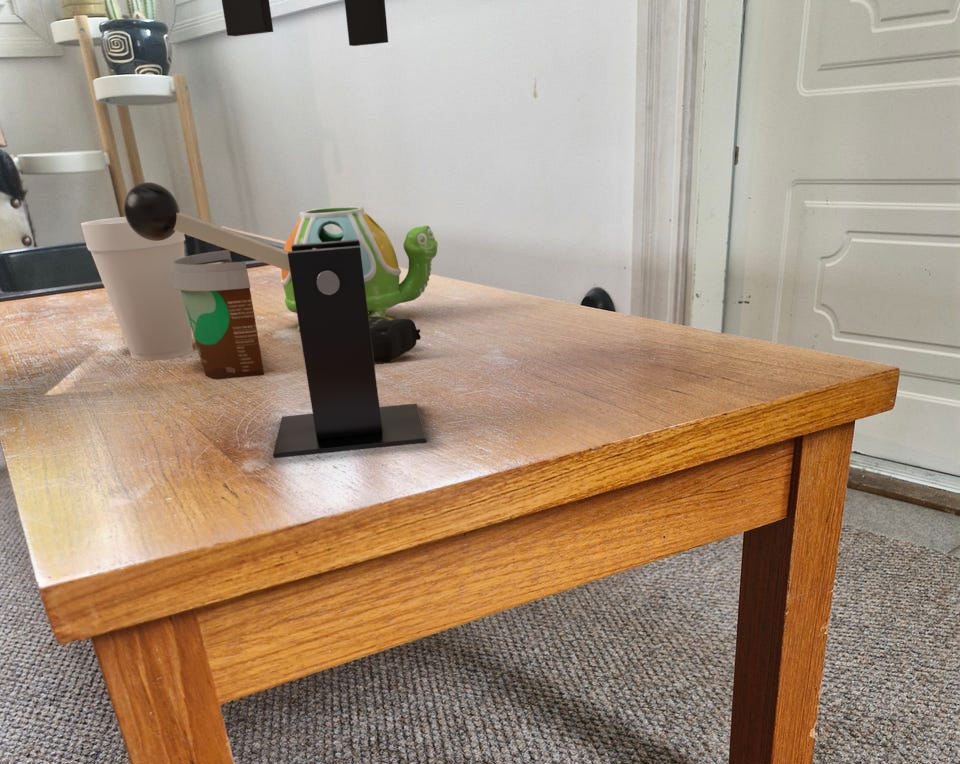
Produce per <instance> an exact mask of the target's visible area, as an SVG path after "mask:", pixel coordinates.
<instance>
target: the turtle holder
mask: <svg viewBox="0 0 960 764" xmlns="http://www.w3.org/2000/svg"><path fill="white" fill-rule="evenodd" d="M327 225H328V226H329V225H333V226H337V227H338V228H339V229H340V230H341V231H342V232H339V233H330V232H328V230H326V229H325V227H326V226H327ZM357 239H358V240H359V241H360V249H361V257H362V266H363V274H364V282H365V291H366V299H367V307H368V316H369V317H372V316H383V317H386V310H387V309H389V308H392V307H395V306H398V305H400V304H402V303H407V302H408V303H409V302H412V301H415V300H416V299H418V298H419V297H420V296H421V295H422V293H424V292H425V290H426V288H427V286H428V284H429V283H428V282H429V281H430V276H431V273H432V272H431V271H432V262H433V261H432V260H434V258H435V257H436V256H437V253H438V241H437V240H436V239H435V236H434V232H433V230H432V229H431V227H430V226H429V225H423V226H416V227H413V228H411V229H410V230H409V231H408V232H407V233H406V236H405V239H404V242H403V250H404V252H405V254H406V256H407V259H408V269H407V273H406V276H405V277H404V279H403V280H402V281H401V282H400V276H401V274H402V270H401V268H400V266H399V261H398V258H397V255H396V254H397V253H396V251H395V248H394V247H393V244H392V242H391V240H390V238H389V237H388V234H387V233H386V231H385V230H384V229H383V228H382V227H381V226H380V225H379V224H378V222H376V221H375V220H374V219H373V218H372V217H371V216H370V215H369V214H367V213H366V212H365V209H364V206H359V205H353V206H352V205H349V206H332V207H331V206H330V207H320V208H312V209H307V210H303V211H301V212H300V213H299V220H298V221H297V222H296V225H295V227H294V229H293V230H292V231H291V234H290V235H289V237H288V239H287V240H286V242H285V243H284V247H283V250H285V251H288V252H289V251H292V248H291V247H292V245H296V244H308V243H320V242H332V241H344V240H357ZM280 284H281V285H282V286H283V290H284V294H285V298H284V303H285V306H286V308H287V309H288V311H290V312H291V313H294V314H297V310H296V304H295V298H294V291H293V285H292V279H291V272H289V271H286V270H283V269H281V279H280ZM297 332H299V333H300V329H299V325H298V326H297Z"/></svg>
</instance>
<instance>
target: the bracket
mask: <svg viewBox="0 0 960 764" xmlns="http://www.w3.org/2000/svg"><path fill="white" fill-rule="evenodd" d="M291 248H292V251H289V252H288V260H289V266H290V272H291V279H292V285H293V291H294V298H295V304H296V310H297V313H296V316H297V323H298V326H299V329H300V332H299V335H300V342H301V347H302V354H303V355H302V356H303V360H304V367H305V373H306V380H307V385H308V386H307V387H308V392H309V398H310V405H311V411H312V413H305V414H304V413H303V414H294V415H284V416H281V419H280V424H279V427H278V432H277V437H276V441H275V445H274V449H273V452H272V458H273V459H280V458H288V457H289V458H290V457H299V456H308V455H309V456H311V455H318V454H328V453H338V452H348V451H349V452H350V451H360V450H368V449H379V448H388V447H389V448H390V447H397V446H407V445H418V444H426V443H427V436H426V433H425V429H424V425H423V423H422V422H423V421H422V418H421V413H420V409H419V406H418V404H417V403H408V404H395V405H387V406H380V399H379V391H378V383H377V373H376V366H375V363H374V357H373V349H372V341H371V332H370V324H369V316H368V314H369V312H368V307H367V299H366V291H365V282H364V274H363V266H362V257H361V249H360V241H359V240H358V239H357V240H344V241H332V242H320V243H308V244H296V245H292V247H291ZM313 248H316V249H313Z"/></svg>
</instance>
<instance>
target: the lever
mask: <svg viewBox="0 0 960 764" xmlns="http://www.w3.org/2000/svg"><path fill="white" fill-rule="evenodd" d="M125 196H126V197H125V199H124V205H123V207H124V208H123V210H124V217H126V219H127V222H128V223H129V225H130V227H131V228H132V229H133V230H134V231H135V232H136V233H137V234H138V235H140V236H141V237H143V238H145V239H148V240H152V241H160V240H164V239H167V238H169V237H170V236H171V235H173V234H174V232H175V231H178V232H181V233H183V234H184V235H186V236H189V237H192V238H194V239H198V240H201V241H203V242H206V243H208V244H211V245H214V246H217V247H220V248H222V249H225V250H229V251H230V252H234V253H236V254H239V255H242V256H245V257H247V258H250V259H253V260H255V261H258V262H261V263H264V264H267V265H270V266H272V267H275V268H278V269H281V270H282V269H283V270H286V271H289V272H290V266H289V260H288V251H285V250H284V249H282V248H279V247H276V246H274V245H271V244H269V243H266V242H263V241H260V240H258V239H256V238H255V239H254V238H252V237H250V236H247V235H244V234H241V233H239V232H236V231H234V230H230V229H227V228H225V227H222V226H220V225H217V224H214V223H211V222H210V221H209V222H208V221H206V220H204V219H200V218H198V217H195V216H192V215H189V214H187V213H184V212H182V211H180V206H179V204H178V201H177V199H176V198H175V196H174V195H173V193H172V192H171V191H169V190H168V189H167V188H166V187H164V186H162V185H161V184H158V183H155V182H149V181H148V182H141V183H138V184H135V186H133V187H132V188H131V189H130V190H129V191H128V193H127V194H126V195H125ZM313 249H316V248H313Z"/></svg>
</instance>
